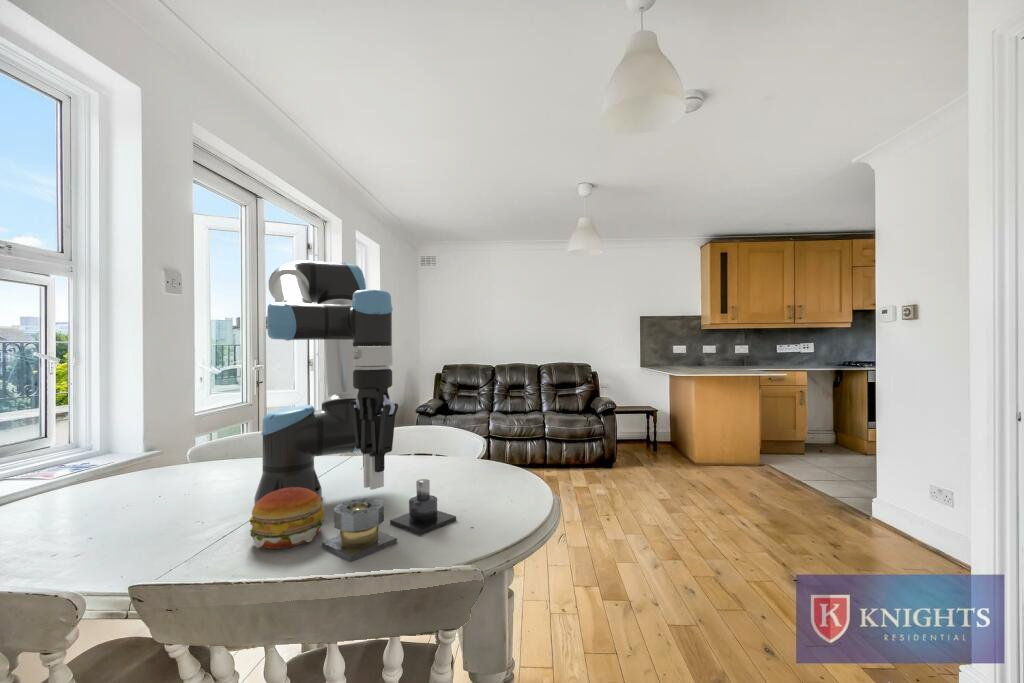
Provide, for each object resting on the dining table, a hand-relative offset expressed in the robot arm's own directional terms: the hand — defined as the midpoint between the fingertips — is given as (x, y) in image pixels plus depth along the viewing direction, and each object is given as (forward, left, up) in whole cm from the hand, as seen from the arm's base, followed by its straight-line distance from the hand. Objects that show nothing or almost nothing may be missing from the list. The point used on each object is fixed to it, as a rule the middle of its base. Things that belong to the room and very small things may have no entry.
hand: (373, 486), depth 91 cm
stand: (+1, +12, -10) cm, 16 cm away
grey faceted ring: (0, -3, -6) cm, 7 cm away
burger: (-14, -10, -11) cm, 20 cm away
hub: (0, -3, -10) cm, 11 cm away
